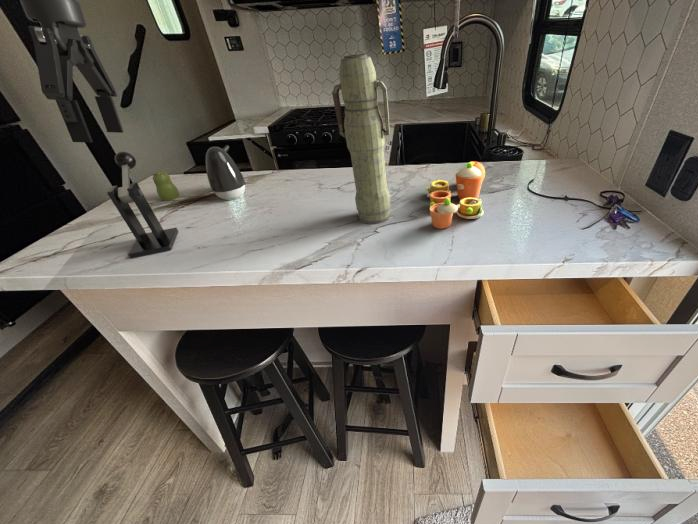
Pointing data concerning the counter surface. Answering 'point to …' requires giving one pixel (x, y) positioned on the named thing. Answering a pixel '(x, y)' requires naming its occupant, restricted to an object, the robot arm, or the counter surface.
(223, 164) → the pump dispenser
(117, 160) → the lever with ball knob
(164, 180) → the pear
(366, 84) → the thermos
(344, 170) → the counter surface
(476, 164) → the clementine
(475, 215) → the toy tea set
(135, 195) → the dark grey slanted stand
